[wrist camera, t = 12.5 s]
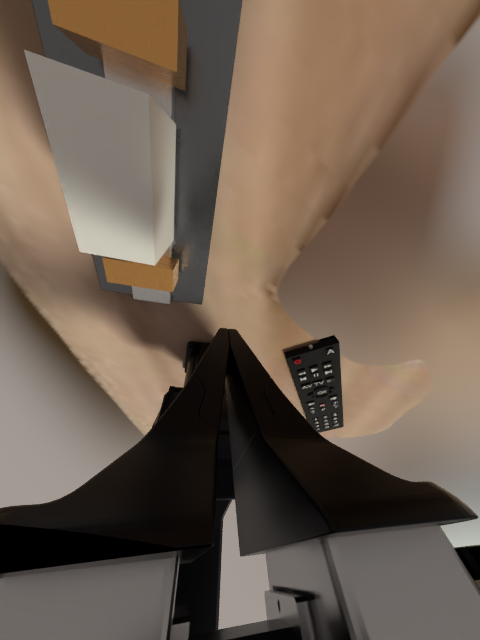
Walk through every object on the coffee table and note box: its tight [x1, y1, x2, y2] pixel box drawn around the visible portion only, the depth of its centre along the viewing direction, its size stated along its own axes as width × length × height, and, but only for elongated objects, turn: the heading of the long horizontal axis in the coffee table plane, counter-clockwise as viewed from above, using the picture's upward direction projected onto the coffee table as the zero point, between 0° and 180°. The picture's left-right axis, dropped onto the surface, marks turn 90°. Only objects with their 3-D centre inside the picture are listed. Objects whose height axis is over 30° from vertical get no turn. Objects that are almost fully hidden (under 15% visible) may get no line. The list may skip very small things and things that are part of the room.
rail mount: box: [32, 0, 242, 305], centre depth 13 cm, size 20×10×4 cm, turn 167°
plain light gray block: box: [24, 50, 176, 266], centre depth 11 cm, size 7×4×6 cm, turn 167°
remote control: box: [285, 335, 343, 433], centre depth 37 cm, size 8×32×2 cm, turn 21°
